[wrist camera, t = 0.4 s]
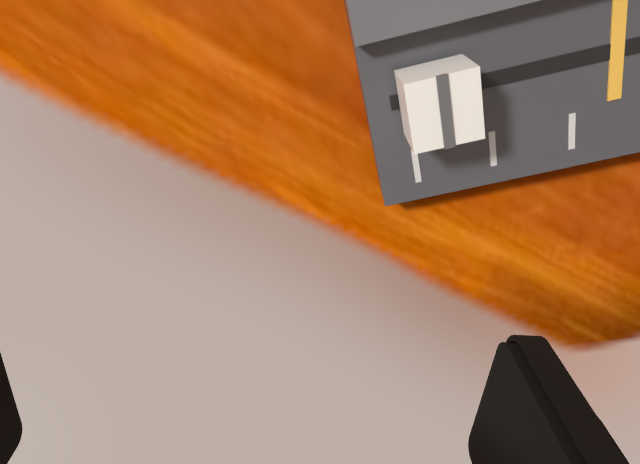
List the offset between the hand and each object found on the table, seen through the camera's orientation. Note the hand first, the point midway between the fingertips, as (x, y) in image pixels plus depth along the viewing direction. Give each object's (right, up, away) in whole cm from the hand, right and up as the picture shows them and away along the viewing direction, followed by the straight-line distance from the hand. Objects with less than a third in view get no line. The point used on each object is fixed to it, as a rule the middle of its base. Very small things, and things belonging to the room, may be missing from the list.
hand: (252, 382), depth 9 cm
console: (+14, +14, +22) cm, 30 cm away
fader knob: (+8, +11, +20) cm, 25 cm away
